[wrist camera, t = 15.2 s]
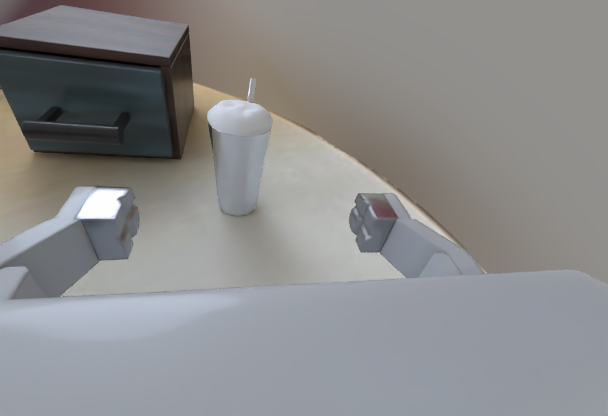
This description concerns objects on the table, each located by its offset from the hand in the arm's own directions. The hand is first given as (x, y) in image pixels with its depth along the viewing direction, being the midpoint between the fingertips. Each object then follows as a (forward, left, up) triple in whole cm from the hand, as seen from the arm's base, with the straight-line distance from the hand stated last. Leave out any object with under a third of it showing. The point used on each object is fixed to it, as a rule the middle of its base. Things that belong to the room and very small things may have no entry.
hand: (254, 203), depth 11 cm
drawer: (-24, +7, -9) cm, 27 cm away
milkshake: (-9, +9, -10) cm, 16 cm away
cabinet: (-27, +10, -10) cm, 30 cm away
